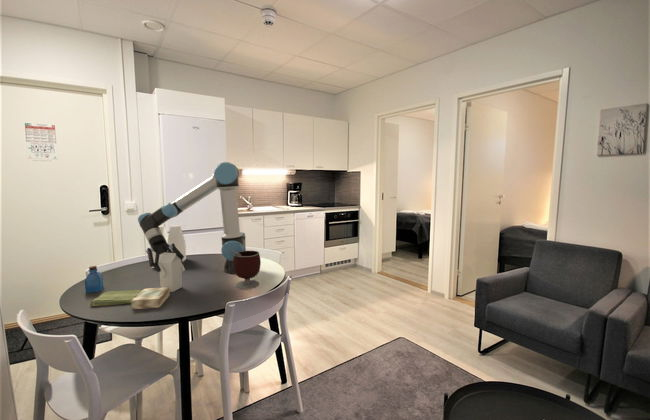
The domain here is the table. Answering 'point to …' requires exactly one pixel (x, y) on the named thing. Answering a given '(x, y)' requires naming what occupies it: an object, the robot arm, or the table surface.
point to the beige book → (150, 298)
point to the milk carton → (171, 272)
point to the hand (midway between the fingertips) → (173, 273)
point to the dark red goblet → (246, 268)
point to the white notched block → (173, 240)
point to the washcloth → (115, 298)
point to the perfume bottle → (93, 280)
